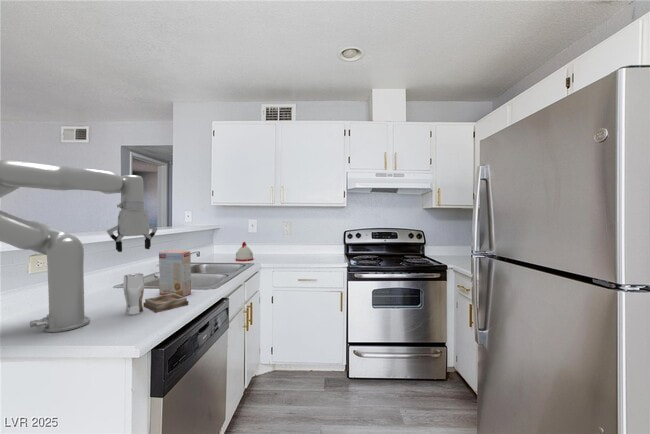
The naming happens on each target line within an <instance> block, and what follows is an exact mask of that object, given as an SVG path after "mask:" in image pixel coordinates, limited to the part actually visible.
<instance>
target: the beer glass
mask: <svg viewBox="0 0 650 434" xmlns="http://www.w3.org/2000/svg"><path fill="white" fill-rule="evenodd" d="M122 284H123V286H122V287H123V293H124V294H123V295H124V299H125V304H126V305H125V306H126V307H125V316H137V315H139V314H142V313H144V308H143V307H144V306H143V297H144V292H145V276H144V273H141V272H139V273H129V274H125V275H123V283H122Z"/></svg>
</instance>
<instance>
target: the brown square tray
mask: <svg viewBox="0 0 650 434" xmlns="http://www.w3.org/2000/svg"><path fill="white" fill-rule="evenodd" d="M185 306H189V301H188V299H187V297H185V296H181V295H178V294H175V293H172V294H167V295H158V296H153V297H149V298H145V299H144V302H143V307H145V308H146V309H149V310H150V311H152V312H154V313H155V314H157V313H162V312H164V311H169V310H172V309H177V308H180V307H185Z"/></svg>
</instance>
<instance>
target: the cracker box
mask: <svg viewBox="0 0 650 434" xmlns="http://www.w3.org/2000/svg"><path fill="white" fill-rule="evenodd" d="M191 259H192V258H191V250H190V251H189V250H187V251H186V250H162V251H159V252H158V276H159V277H158V282H159V283H158V284H159V285H158V286H159V288H158V289H159V296H162V295H167V294H172V293H175V294H178V295H181V296H183V297H185V296H188V295H191V294H192V272H191V271H192V267H191V266H192V265H191V264H192V263H191V262H192V261H191Z"/></svg>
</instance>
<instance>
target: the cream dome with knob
mask: <svg viewBox="0 0 650 434" xmlns="http://www.w3.org/2000/svg"><path fill="white" fill-rule="evenodd" d="M251 261H254V254H253V251H252V250H251V248H249V246H247V242H246V241H243V242H242V244H241V247H240V248H239V249H238V250H237V251H236V252H235V262H251Z"/></svg>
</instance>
